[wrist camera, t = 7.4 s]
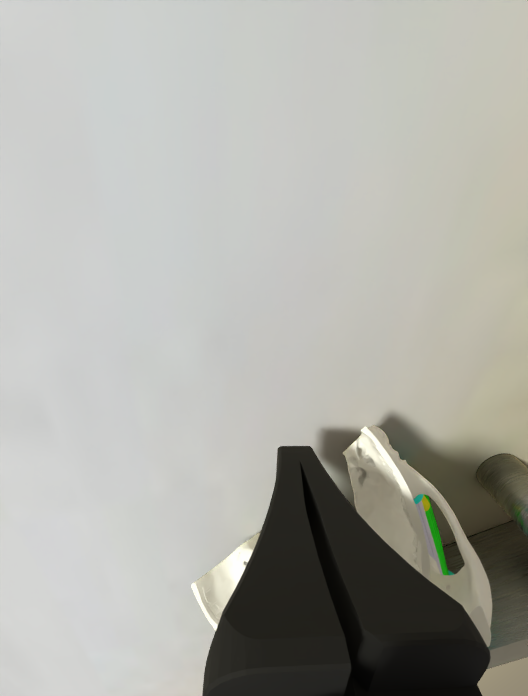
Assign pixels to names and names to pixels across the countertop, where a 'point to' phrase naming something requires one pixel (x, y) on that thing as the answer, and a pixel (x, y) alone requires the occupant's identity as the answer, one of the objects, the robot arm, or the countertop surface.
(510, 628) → the housing bracket
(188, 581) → the countertop surface
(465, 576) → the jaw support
